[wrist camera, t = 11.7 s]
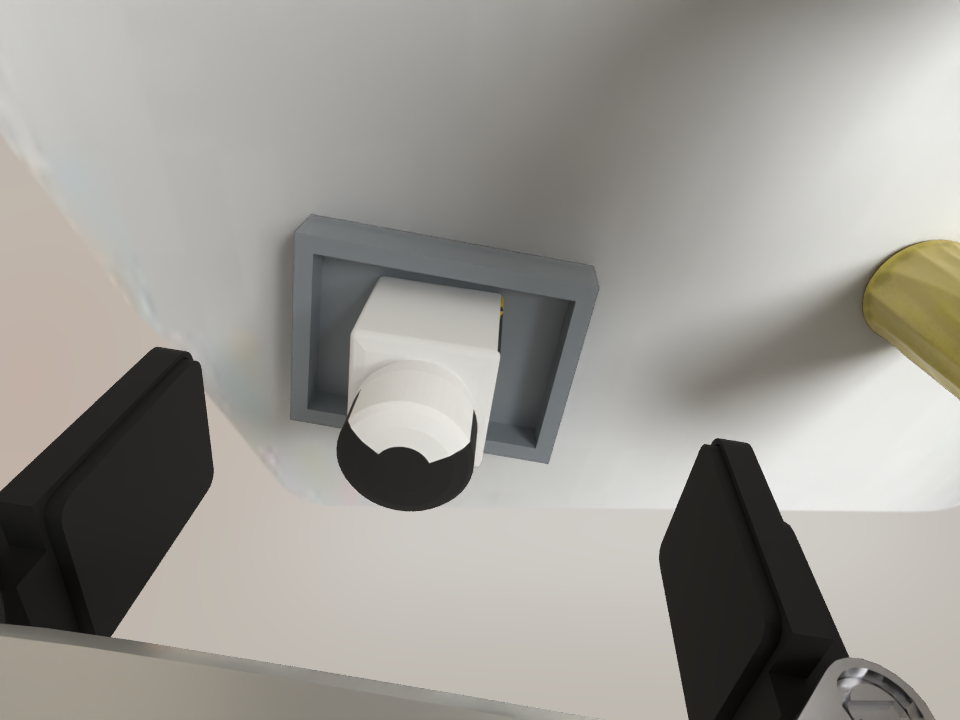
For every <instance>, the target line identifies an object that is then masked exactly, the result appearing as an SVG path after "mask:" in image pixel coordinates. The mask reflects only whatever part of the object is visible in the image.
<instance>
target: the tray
mask: <svg viewBox="0 0 960 720" xmlns="http://www.w3.org/2000/svg"><path fill="white" fill-rule="evenodd" d="M382 276H388V277H395V278H401V279H408V280H414V281H421V282H427V283H434V284H441V285H447V286H454V287H460V288H467V289H473V290H480V291H487V292H493V293H499V294H501V295H502V296H503V299H504V305H503V321H502V338H501V355H500V362H499V367H498V373H497V379H496V384H495V390H494V395H493V401H492V406H491V412H490V417H489V423H488V429H487V434H486V440H485V445H484V451H483V453H487V454H493V455H499V456H505V457H511V458H517V459H522V460H528V461H534V462H540V463H546V464H548V463H549V460H550V456H551V453H552V450H553V446H554V443H555V439H556V436H557V432H558V429H559V425H560V422H561V419H562V415H563V412H564V408H565V405H566V401H567V398H568V394H569V391H570V388H571V384H572V381H573V377H574V374H575V370H576V367H577V363H578V360H579V356H580V353H581V350H582V346H583V343H584V339H585V336H586V332H587V329H588V325H589V322H590V319H591V315H592V312H593V308H594V305H595V301H596V298H597V294H598V291H599V284H598V280H597V276H596V273H595V269H594V266H590V265H584V264H579V263H573V262H568V261H562V260H557V259H551V258H546V257H541V256H535V255H530V254H524V253H519V252H513V251H508V250H502V249H497V248H492V247H486V246H481V245H475V244H470V243H464V242H459V241H453V240H448V239H443V238H437V237H432V236H426V235H421V234H415V233H410V232H404V231H399V230H394V229H388V228H383V227H377V226H372V225H366V224H361V223H355V222H350V221H345V220H339V219H334V218H328V217H323V216H317V215H312V214H311V215H310V216H309V217H308V218H307V219H306V220H305V221H304V223H303V224H302V225H301V226H300V227H299V228H298V229H297V230H296V231H295V232H294V275H293V320H292V366H291V411H290V420H296V421H302V422H307V423H313V424H319V425H325V426H331V427H336V428H342V427H343V425H344V422H345V420H346V418H347V411H348V386H349V361H350V336H351V332H352V330H353V328H354V326H355V324H356V322H357V320H358V318H359V316H360V314H361V312H362V310H363V308H364V306H365V304H366V302H367V300H368V298H369V297H370V295H371V293H372V291H373V289H374V287H375V285H376V283H377V281H378V279H379V278H380V277H382Z"/></svg>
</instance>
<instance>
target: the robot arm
mask: <svg viewBox="0 0 960 720" xmlns="http://www.w3.org/2000/svg"><path fill="white" fill-rule="evenodd" d="M213 473H214V468H213V461H212V452H211V443H210V435H209V427H208V419H207V410H206V402H205V394H204V386H203V377H202V369H201V365H200V363H199V362H197V361H193V358H192V356H191V354H190V353H189V352H187V351H180V350H174V349H168V348H162V347H155V348H153V349H152V350H150V351H149V352H148V353H147V354H146V355H145V356H144V357H143V358H142V359H141V360H140V361H139V362H138V363H137V364H135V365H134V366H133V367H132V368H131V369H130V370H129V371H128V372H127V373H126V374H125V375H124V376H123V377H122V378H121V379H120V380H118V381H117V382H116V383H115V384H114V385H113V386H112V387H111V388H110V389H109V390H108V391H107V392H106V393H105V394H104V395H102V396H101V397H100V398H99V399H98V400H97V401H96V402H95V403H94V404H93V405H92V406H91V407H90V408H89V409H88V410H87V411H85V412H84V413H83V414H82V415H81V416H80V417H79V418H78V419H77V420H76V421H75V422H74V423H73V424H72V425H70V427H68V428H67V429H66V430H65V431H64V432H63V433H62V434H61V435H60V436H59V437H58V438H57V439H56V440H55V441H53V442H52V443H51V444H50V445H49V446H48V447H47V448H46V449H45V450H44V451H43V452H42V453H41V454H40V455H39V456H37V457H36V458H35V459H34V460H33V461H32V462H31V463H30V464H29V465H28V466H27V467H26V468H25V469H24V470H23V471H21V472H20V473H19V474H18V475H17V476H16V477H15V478H14V479H13V480H12V481H11V482H10V483H9V484H8V485H7V486H6V487H5V488H3V489H2V490H1V491H0V720H603V719H597V718H591V717H586V716H580V715H574V714H568V713H563V712H557V711H551V710H545V709H540V708H534V707H528V706H522V705H516V704H511V703H505V702H499V701H494V700H488V699H482V698H476V697H471V696H465V695H458V694H452V693H447V692H441V691H435V690H429V689H424V688H418V687H412V686H406V685H399V684H394V683H388V682H382V681H376V680H370V679H364V678H358V677H352V676H346V675H340V674H334V673H328V672H323V671H317V670H310V669H305V668H299V667H293V666H286V665H281V664H274V663H268V662H262V661H256V660H250V659H243V658H237V657H231V656H225V655H219V654H213V653H207V652H200V651H195V650H188V649H182V648H176V647H170V646H164V645H158V644H152V643H145V642H139V641H132V640H125V639H118V638H112V637H111V636H112V634H113V633H114V631H115V630H116V628H117V627H118V625H119V623H120V622H121V621H122V619H123V618H124V616H125V615H126V613H127V612H128V610H129V609H130V607H131V606H132V604H133V602H134V601H135V600H136V598H137V597H138V595H139V594H140V592H141V591H142V589H143V588H144V586H145V585H146V583H147V581H148V580H149V579H150V577H151V576H152V574H153V572H154V571H155V570H156V568H157V567H158V565H159V563H160V562H161V560H162V559H163V557H164V556H165V554H166V553H167V551H168V550H169V548H170V547H171V545H172V544H173V542H174V541H175V539H176V538H177V536H178V535H179V533H180V532H181V530H182V529H183V527H184V526H185V524H186V523H187V521H188V520H189V518H190V517H191V515H192V514H193V512H194V511H195V509H196V508H197V506H198V505H199V503H200V502H201V500H202V499H203V497H204V495H205V494H206V493H207V491H208V489H209V488H210V486H211V483H212V480H213ZM659 562H660V569H661V574H662V580H663V585H664V590H665V595H666V601H667V606H668V612H669V617H670V622H671V628H672V633H673V638H674V644H675V649H676V654H677V660H678V665H679V670H680V675H681V681H682V686H683V692H684V696H685V702H686V708H687V713H688V718H689V720H935V718H934V717H933V715H932V713H931V711H930V710H929V708H928V706H927V705H926V703H925V702H924V701H923V700H922V699H921V697H920V696H919V695H918V694H917V693H916V692H915V691H914V690H913V688H912V687H911V686H909V685H908V684H907V683H906V682H904V681H903V680H902V679H901V678H900V677H898V676H897V675H896V674H894V673H892V672H891V671H889V670H887V669H886V668H884V667H882V666H880V665H878V664H876V663H873V662H870V661H867V660H864V659H859V658H849V655H848V653H847V651H846V649H845V647H844V644H843V642H842V640H841V638H840V635H839V633H838V631H837V628H836V626H835V624H834V621H833V619H832V617H831V615H830V612H829V610H828V608H827V606H826V603H825V601H824V599H823V597H822V594H821V592H820V590H819V587H818V585H817V583H816V581H815V578H814V576H813V574H812V571H811V569H810V567H809V565H808V562H807V560H806V558H805V556H804V553H803V551H802V549H801V546H800V544H799V542H798V540H797V537H796V535H795V533H794V531H793V530H792V528H791V526H790V525H788V524H787V523H786V522H784V521H783V519H782V516H781V515H780V512H779V509H778V507H777V505H776V502H775V500H774V498H773V495H772V493H771V491H770V489H769V486H768V484H767V482H766V479H765V477H764V475H763V472H762V470H761V468H760V465H759V463H758V461H757V458H756V456H755V454H754V451H753V449H752V447H751V446H750V444H748V443H744V442H738V441H732V440H726V439H720V438H717V439H715V440H714V441H713V442H712V444H711V445H707V444H704V445H703V446H702V447H701V449H700V451H699V453H698V456H697V458H696V461H695V463H694V465H693V468H692V470H691V473H690V475H689V478H688V480H687V482H686V485H685V487H684V490H683V492H682V495H681V497H680V500H679V502H678V504H677V507H676V509H675V512H674V514H673V517H672V519H671V522H670V524H669V527H668V529H667V531H666V534H665V536H664V539H663V541H662V544H661V547H660V553H659Z"/></svg>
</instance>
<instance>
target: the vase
mask: <svg viewBox="0 0 960 720" xmlns="http://www.w3.org/2000/svg"><path fill="white" fill-rule="evenodd" d="M863 313H864V317H865V320H866V322H867V324H868V325H869V327H870V328H871V329H872V330H873V331H874V332H875V333H877V334H878V335H880V336H882V337H883V338H885V339H886V340H887V341H888V342H890V343H891V344H892V345H893V346H895V347H896V348H897V349H898V350H899V351H900V352H901V353H903V354H904V355H905V356H906V357H907V358H908V359H910V360H911V361H912V362H913V363H915V364H916V365H917V366H918V367H920V368H921V369H922V370H923V371H925V372H926V373H927V374H928V375H930V376H931V377H932V378H933V379H935V380H936V381H937V382H938V383H939V384H941V385H942V386H943V387H944V388H945V389H947V390H948V391H949V392H951V393H952V394H953V395H954V396H956V397H957V398H958V399H959V400H960V243H958V242H955V241H950V240H932V241H926V242H921V243H918V244H915V245H912V246H909V247H907V248H905V249H903V250H901V251H900V252H898V253H896V254H895V255H893V256H892V257H891V258H889V259H888V260H887V261H886V262H884V263H883V264H882V265H881V266H880V267H879V269H878V270H877V271H876V272H875V274H874V275H873V276H872V278H871V279H870V281H869V283H868V285H867V287H866V290H865V293H864V298H863Z"/></svg>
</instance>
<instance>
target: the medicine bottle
mask: <svg viewBox="0 0 960 720" xmlns="http://www.w3.org/2000/svg"><path fill="white" fill-rule="evenodd" d="M503 305H504V299H503V296H502V295H501V294H499V293H493V292H487V291H480V290H473V289H467V288H460V287H454V286H447V285H441V284H434V283H427V282H421V281H414V280H408V279H401V278H395V277H388V276H382V277H380V278H379V279H378V281H377V283H376V285H375V287H374V289H373V291H372V293H371V295H370V297H369V298H368V300H367V302H366V304H365V306H364V308H363V310H362V312H361V314H360V316H359V318H358V320H357V322H356V324H355V326H354V328H353V330H352V332H351V336H350V361H349V386H348V411H347V418H346V420H345V422H344V425H343V427H342V430H341V432H340V434H339V438H338V441H337V459H338V463H339V466H340V468H341V471H342V473H343V474H344V476H345V478H346V479H347V480H348V481H349V483H350V484H351V485H352V486H353V487H354V488H355V489H356V490H357V491H358V492H359V493H360V494H361V495H363V496H364V497H365V498H367V499H369V500H370V501H372V502H374V503H376V504H378V505H380V506H383V507H386V508H390V509H394V510H400V511H423V510H427V509H432V508H435V507H438V506H440V505H443V504H445V503H447V502H449V501H451V500H452V499H454V498H455V497H456V496H457V495H459V494H460V493H461V492H462V491H463V490H464V488H465V487H466V486H467V484H468V482H469V481H470V479H471V476H472V473H473V468H477V467H478V466H479V465H480V464H481V462H482V456H483V451H484V445H485V440H486V434H487V429H488V423H489V417H490V412H491V406H492V401H493V395H494V390H495V384H496V379H497V373H498V367H499V362H500V355H501V338H502V321H503Z"/></svg>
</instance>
